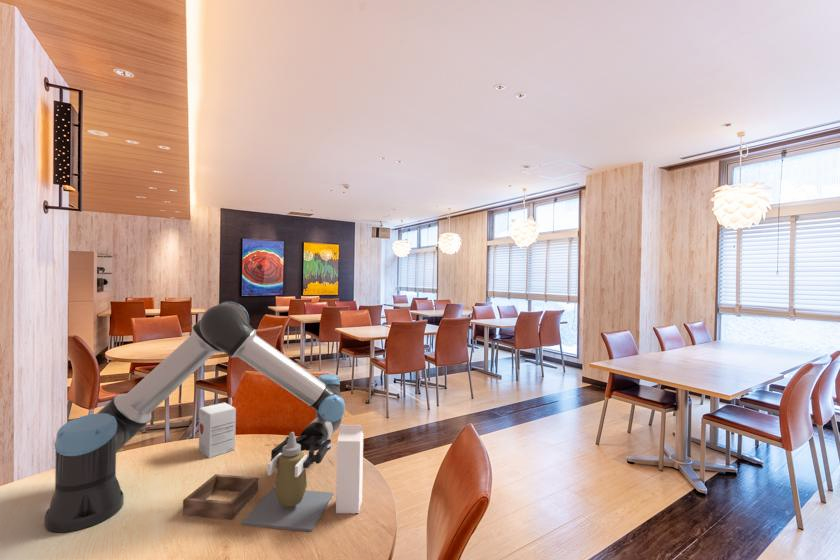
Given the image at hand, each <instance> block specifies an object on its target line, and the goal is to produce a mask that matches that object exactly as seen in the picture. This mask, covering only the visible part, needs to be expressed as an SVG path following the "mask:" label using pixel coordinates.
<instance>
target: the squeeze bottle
mask: <svg viewBox="0 0 840 560" xmlns="http://www.w3.org/2000/svg"><path fill="white" fill-rule="evenodd" d="M288 437H289V438H288V442H287V444H286V445H284V446H283V448H282V454H281V455H280V456H279V458H278V468H277V469H276V476H275V482H274V483H275V485H274V488H275V493H276V496H277V499H278V501H279V504H280V505H281V506H285V507H290V506H294V505H297V504H299V503H300V502H301V501H302V499H303V496H304V493H305V490H307V488H308V487H307V486H308V483H307V471H306V469H307V468H305V469H304V470H303V471H302V473H301V474H300V475H299V476H298V477H295V466H296V464H297V463H298V462H299V461H300V460H301V459H302V458H303V457H304V455H305V454H304V452H302V451H301V445H300V444H298V443H296V435H295V432H294V431H291V432H289V434H288Z"/></svg>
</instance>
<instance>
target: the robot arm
mask: <svg viewBox="0 0 840 560" xmlns="http://www.w3.org/2000/svg"><path fill="white" fill-rule="evenodd" d="M191 328H192V329H191V331H192V332H191V335H190V336H188V338H186V339H185V340H184V341H183V342H182V343H181V344H180V345H179V346H178V347H176V348H175V349H174V350H173V351H172V352H171V353H170V354H169V355H168V356H166V358H164V359H163V360H162V361H161V362H160V363H159V364H157V366H155V368H153V369H152V370H151V371H150V372H149V373H148V374H146V376H145V377H143V378H142V379H141V380H140V381H139V382H138V383H137V384H136V385H135V386H134V387H132V389H130V390H129V391H128V392H127V393H119V394H117V395H115V397H113V398H112V399H111V400H110V401H109V402H108V403H107V404H106V405H104V406H103V407H102V408H101V409H100V410H99V411H98V412H96V413H92V414H86V415H82V416H80V417H79V418H74V419H72V420H69V421H68V422H65V423H64V424H63V425H62V426H61V427H59V429H58V430H57V433H56V438H55V442H54V449H55V455H54V456H55V462H54V463H55V466H54V467H55V469H54V470H55V471H54V473H55V476H54V477H55V481H54V483H55V484H54V486H55V488H54V493H53V495H52V498H51V501H50V505H49V508H48V509H47V511H46V513H45V515H44V528H45V527H46V528H45V529H46V530H47V529H48V530H47V531H48V532H52V531H53V532H52V533H69V532H73V531H80V530H83V529H86V528H89V527H92V526H95V525H97V524H100V523H101V522H104V521H106V520H107V519H109V518H111V517H113V516H114V515H115V514H118V512H119V511H120V510H121V509H122V508H123V506H124V504H125V503H124V498H125V497H124V493H123V491H122V488H121V486H120V482H119V480H118V478H117V473H116V471H117V469H116V468H117V453H118V452H119V451H120V450H121V449H122V448H123V447H124V446H125V445H126V444H127V443H129V441H130V440H132V439H133V438H134V437H135V436H136V435H137V434H138V433H139V431H141V429H143V428H144V427H145V426H146V425H147V424H148V423H149V422H150V421H151V420H152V412H153V411H155V410H156V409H157V408H158V407H159V406H160V405H161V404H162V403H163V402H164V401H165V400H166V399H167V398H168V397H169V396H170V395H171V394H173V392H175V391H176V390H177V389H178V388H179V387H180V386H181V385H182V384H183V383H184V382H185V381H186V380H187V379H189V377H191V375H193V374H194V373H195V372H196V371H197V370H198V369H199V368H200V367H201V366H203V364H204V363H205V362H207V361H208V360H209V359H210V358H211V357H212V356H213V355H215V354H220V353H224V354H226V356H229V357H230V358H238V359H240V360H242V361H243V362H245V363H246V364H248V365H249V366H251V367H252V368H254V369H255V370H257V371H258V372H259V373H260V374H262V375H264V376H265V377H266V378H268V379H270V380H271V381H273V383H275V384H277V385H278V386H280V387H281V388H282V389H284V390H286V391H288V392H289V393H290V394H292V396H295V397H296V398H297V399H299V400H301V401H302V402H303V403H305V404H306V405H308V406H309V407H310V408H312V409H313V410H315V418H314V419H313V420H312V421H311V422H310V423H309V424H308V425H306V427H305V428H304V429H303V430H302V432H301V433H300V435H299V436H297V437H295V439H296V443H298V444H300V445H301V452H302V451H304V452H305V451H306V452H307V451H308V454H304V457H303V458H302V459H301V460H300V461H299V462H298V463H297V464H296V466H295V477H298V476H299V475H300V474H301V473H302V471H303V470H304V469H308V468H309V467H310V466H311V465H313V464H314V463H315V464H317V465H318V464H321V462H322V461H323V459H324V457H325V455H326V454H327V452H328V451H329V450H331V448H332V440H331V439H330V438H331V436H332V435H333V434H334V432H336V431H337V430H338V428H340V425H341V424H342V421H343V416H344V415H345V411H346V404H345V399H344V398H343V396H342V393H341V390H340V388H341V386H340V385H341V383H340V382H341V381H340V376H339V375H337V374H335V373H334V374H333V373H332V374H331V373H326V374H321V375H319V376H317V377H316V376H314V375H313V374H312V373H310V372H309V371H308V370H306V369H305V368H303V367H302V366H301V365H299V364H298V363H296V361H294V360H292V359H291V358H289V357H288V356H287V355H285V354H284V353H282V352H281V351H279V349H277V348H276V347H274V346H272V345H271V344H270V343H268V341H265V339H263V338H261V337H260V336H258V335H257V330H256V329H255V328H253V327H252V326H251V325H250V317H249V313H248V311H247V309H246V308H245V307H244V306H243V305H241V304H240V303H238V302H237V303H236V302H234V301H223V302H221V303H219V304H216V305H214V306H212V307H209V308H208V309H207V310H206V311H204V313H203V314H202V316H201V318H200V320H198V321H197V322H196V323H195V324H194V325H193V326H191ZM288 438H289V436H286V437H285V438H284V440H283V441H282V442H280V443H279V444H278V445H277V446H275V447H273V449H271V453H270V456H271V457H270V461H269V462H268V463H267V476H271V475H272V474H273V473H275V471H277V468H278V458H279V456H280V455H281V454H282V448H283V446H284V445H286V444H287V442H288ZM315 451H316V454H315Z"/></svg>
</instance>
